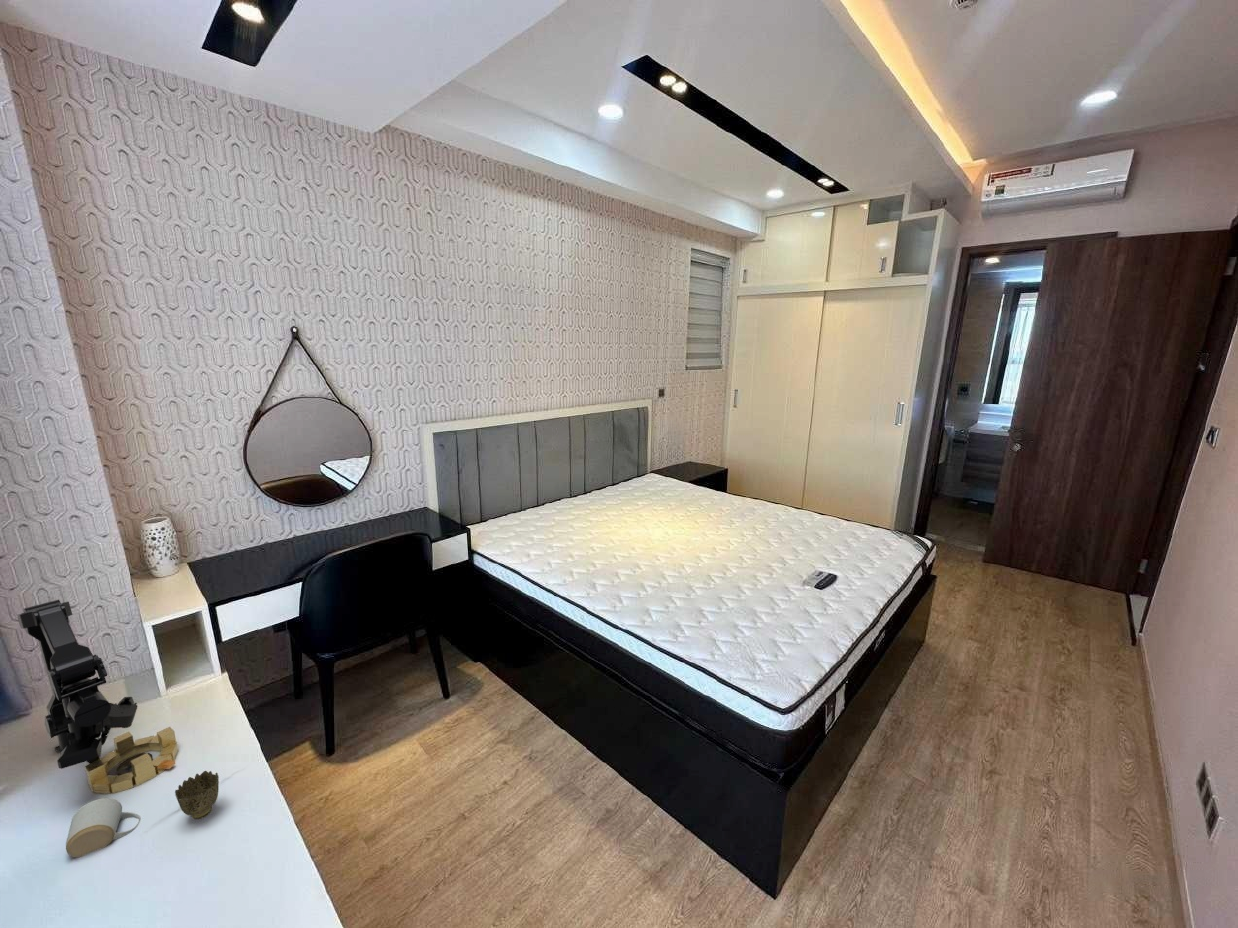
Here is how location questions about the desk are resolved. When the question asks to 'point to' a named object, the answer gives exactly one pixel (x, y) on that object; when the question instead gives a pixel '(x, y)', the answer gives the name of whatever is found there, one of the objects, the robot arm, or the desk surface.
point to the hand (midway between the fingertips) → (96, 764)
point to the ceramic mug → (96, 826)
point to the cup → (198, 794)
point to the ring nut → (133, 761)
